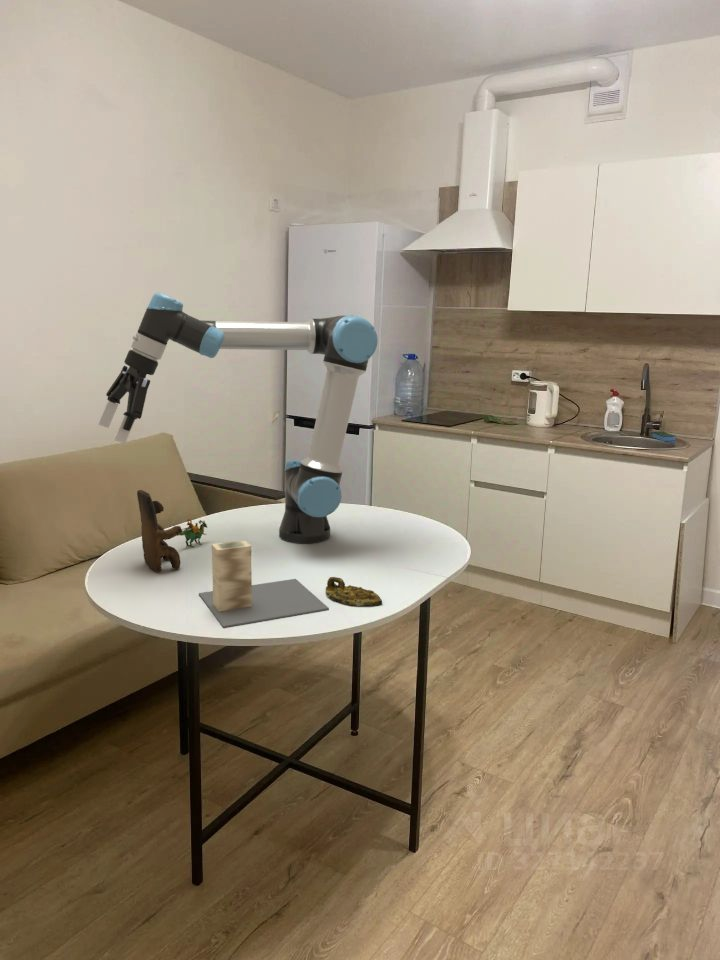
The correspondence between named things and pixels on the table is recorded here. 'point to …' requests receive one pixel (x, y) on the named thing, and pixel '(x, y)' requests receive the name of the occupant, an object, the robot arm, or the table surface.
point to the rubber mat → (269, 603)
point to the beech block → (232, 575)
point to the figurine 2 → (193, 532)
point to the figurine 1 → (156, 534)
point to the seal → (350, 594)
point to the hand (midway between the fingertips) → (110, 433)
